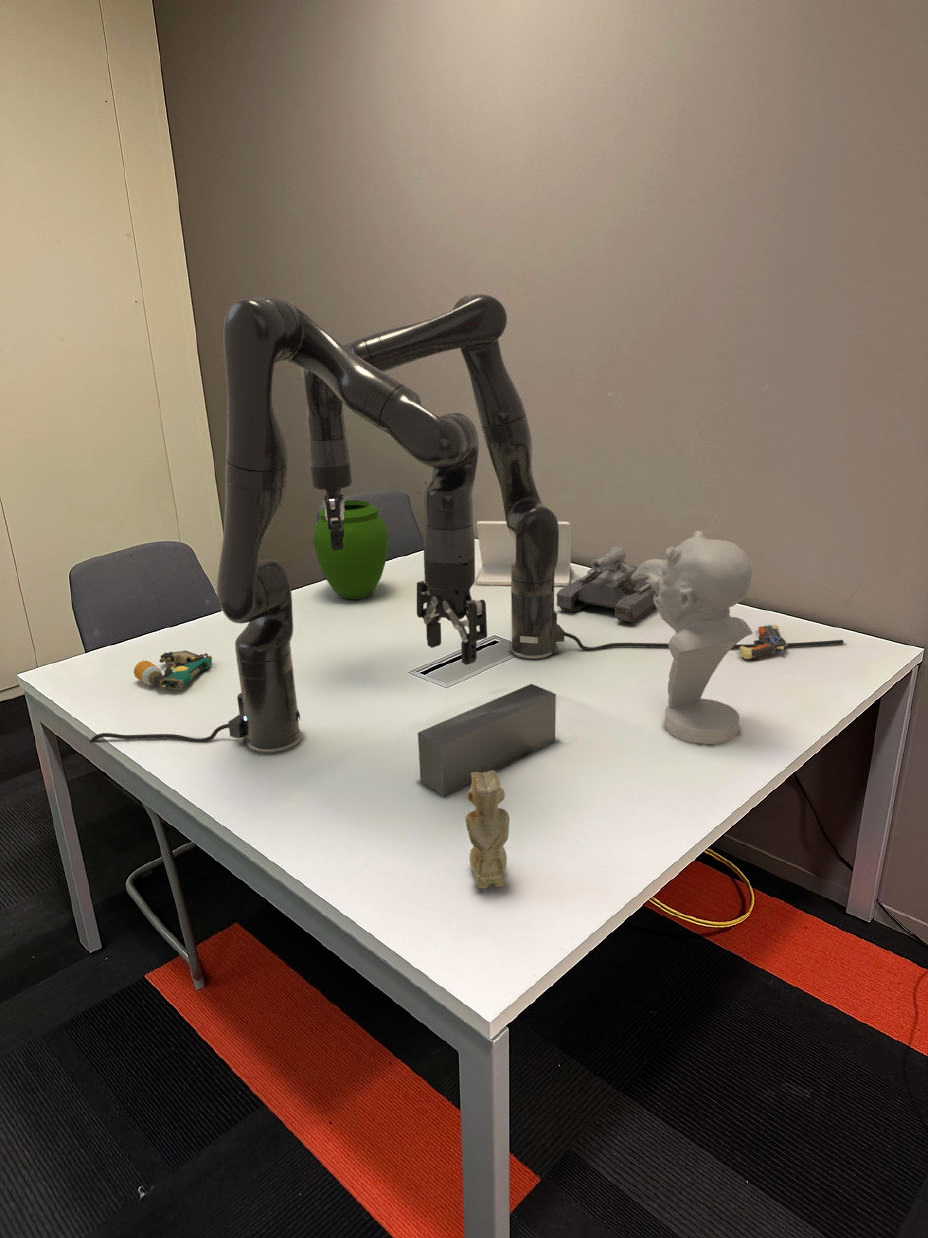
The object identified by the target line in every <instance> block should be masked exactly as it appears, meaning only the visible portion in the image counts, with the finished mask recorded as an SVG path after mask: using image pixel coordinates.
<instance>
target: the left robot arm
mask: <svg viewBox="0 0 928 1238" xmlns="http://www.w3.org/2000/svg"><path fill="white" fill-rule="evenodd" d="M223 321H224V322H223V329H222V331H223V333H222V335H223V337H222V338H223V339H222V340H223V353H224V354H223V355H224V366H225V379H226V396H227V397H226V398H227V399H226V401H227V403H226V404H227V406H226V407H227V408H226V409H227V411H226V416H227V417H226V450H225V451H226V452H225V476H224V477H225V479H224V480H225V481H224V483H225V485H224V486H225V499H224V500H225V501H224V503H225V504H224V520H223V535H222V543H221V551H220V559H219V565H218V573H217V583H216V590H217V591H216V594H217V600H218V604H219V607H220V609H221V611H222V613H223V614H224V616H225V617H226V618H227V619H228V620H229V621H230V622H232V623H234V624H246V623H248V624H247V625H246V626H245V628H244V629H243V630H242V632H241V633H240V634H239V635H238V636H237V638H236V639H235V643H234V649H235V657H236V663H237V671H238V678H239V686H240V692H239V693H238V694H237V697H236V698H237V699H236V700H237V705H238V715H236V716H234V717H233V718H232V719H230V720H229V721H228V722H227V723H225V724H222V725H220V726H218V727H216V728H214V730H213V732H212V733H211V734H210V735H209V736H207V737H201V738H194V737H189V736H185V735H181V734H175V733H174V734H173V733H150V734H147V733H146V734H145V733H144V734H119V733H111V732H101V733H98V734H95V735H94V736H93V737H92V738H91V739H90V740H89V741H88V742H89V743H94V742H96V741H97V740H99V739H101V738H114V739H121V740H138V739H139V740H140V739H142V740H143V739H176V740H182V741H186V742H189V743H191V742H192V743H207V742H209V741H212V740H213V739H215V737H216V736H217V734H218V733H219V732H221V731H222V730H225V729H228V731H229V736H230V737H231V738H236V739H240V740H241V739H242V743H243V744H244V745H247V747H248V748H249V749H250V750H251V751H254V752H256V753H263V754H272V753H273V754H275V753H280V752H284V751H287V750H290V749H291V748H294V747H295V746H297V744H298V743H300V741H301V738H302V733H301V730H300V722H301V714H300V711H299V709H298V702H297V693H296V692H297V691H296V684H295V683H296V682H295V674H294V666H293V656H292V645H291V642H292V639H293V636H294V635H293V634H294V617H293V598H292V589H291V588H292V587H291V584H290V583H291V582H290V579H289V577H288V574H287V572H286V570H285V569H284V568H283V566H282V565H281V564H280V563H279V562H278V561H276V560H275V559H272V558H267V557H264V558H260V553H261V549H262V545H263V542H264V539H265V538H266V536H267V533H268V531H269V529H270V527H271V525H272V524H273V521H274V520H275V518H276V516H277V514H278V512H279V510H280V508H281V506H282V503H283V500H284V497H285V493H286V486H287V472H288V471H287V470H288V450H287V445H286V441H285V437H284V435H283V433H282V430H281V428H280V425H279V423H278V421H277V418H276V415H275V412H274V407H273V396H272V395H273V378H274V377H273V376H274V370H275V369H274V368H275V363H281V362H284V361H286V362H289V363H290V364H294V365H296V366H299V367H300V368H301V367H303V368H305V369H307V370H309V371H311V372H312V373H314V374H315V375H317V376H318V377H320V378H321V379H322V380H323V381H324V382H325V383H326V384H327V385H328V386H329V387H330V388H331V389H332V390H333V391H334V393H335V394H336V395H337V396H338V397H339V399H340V400H341V401H342V402H343V405H345V406H346V407H347V408H348V409H349V410H350V411H352V412H353V413H354V414H356V415H357V416H358V417H360V418H362V419H363V420H365V421H367V422H368V423H370V424H371V425H372V426H375V427H376V428H377V429H380V430H381V431H382V432H384V433H386V434H388V435H389V436H390V437H391V438H393V440H394V441H395V442H396V443H397V444H398V445H399V446H400V447H401V448H402V449H403V450H404V451H406V453H408V454H409V455H410V456H411V457H412V458H414V459H415V460H416V461H418V462H419V463H420V464H421V465H424V466H426V467H428V468H431V469H432V477H431V480H430V483H429V484H428V485H427V486H426V488H425V491H424V495H423V496H424V497H423V511H424V512H423V515H424V517H423V518H424V529H423V530H424V532H423V568H424V569H423V570H424V572H423V573H424V580H420V581H417V582H416V616H417V617H418V618H420V619H421V618H422V619H423V623H424V624H425V625H426V628H425V629H426V642H427V646H428V647H429V648H432V649H433V648H436V647H439V646H440V645H441V644H442V623H441V622H440V621H441V620H442V619H443V618H445V619H446V620H447V621H450V622H451V624H452V626H453V629H455V630H457V631H458V634H459V636H460V638H461V640H462V641H461V642H460V646H461V649H460V651H461V652H460V653H461V663H462V664H463V665H465V666H468V665H471V664H473V663H475V662H476V661H477V657H478V652H477V651H478V648H477V644H478V643H477V642H478V641H481V640H485V639H487V638H488V625H487V624H488V623H487V622H488V621H487V603H486V601H485V600H484V599H478V600H475V599H473V598H472V596H471V588H472V586H473V585H474V584H475V582H476V549H475V548H476V545H475V544H476V543H475V542H476V541H475V540H476V539H475V532H474V522H473V521H474V516H473V513H474V512H473V509H474V507H473V506H474V505H473V489H474V484H475V480H476V474H477V467H478V461H479V460H478V459H479V453H480V451H479V450H480V447H479V445H480V443H479V435H478V431H477V429H476V426H475V424H474V422H473V421H472V420H471V419H470V418H469V417H468V416H466V415H465V414H463V413H459V412H449V413H446V414H443V415H436V414H435V413H433V412H432V411H430V410H429V409H427V408H426V407H425V406H424V405H422V401H421V398H420V397H419V395H418V394H417V393H416V392H415V391H414V390H412V389H411V388H410V387H408V386H407V385H405V384H403V383H401V382H400V381H398V380H397V379H395V378H393V377H392V376H390V375H389V374H387V373H386V372H384V373H383V372H382V371H380V370H379V369H377V368H375V367H374V366H372V365H370V364H369V363H367V362H366V361H364V360H363V359H361V358H360V357H358V356H357V355H355V354H354V353H353V352H351V351H350V350H348V349H347V348H346V347H344V346H343V345H344V344H342V343H341V342H339V341H338V340H337V339H336V338H335V337H333V336H332V335H331V334H330V333H328V332H327V331H326V330H324V329H323V328H322V326H320V325H318V323H316V322H315V321H314V320H313V319H312V318H311V317H310V316H309V315H307V314H306V313H305V312H304V311H303V310H302V309H301V308H299V307H298V306H297V305H296V304H294V303H293V302H291V301H290V300H289V299H287V298H285V297H282V296H278V295H263V296H262V295H261V296H252V297H245V298H241V299H238V300H236V301H235V302H233V303H232V304H231V305H230V306H229V309H228V310H227V312H226V314H225V317H224V320H223ZM425 604H426V607H424V605H425ZM464 617H466V619H464V620H462V619H463V618H464ZM466 627H467V628H468V632H467V629H466ZM477 627H478V628H477ZM299 721H300V722H299Z"/></svg>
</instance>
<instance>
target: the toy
mask: <svg viewBox="0 0 928 1238" xmlns="http://www.w3.org/2000/svg"><path fill="white" fill-rule="evenodd" d="M626 557H627V556H626V551H625V549H624V548H622V547H621V546H614V547H612V548H611V549H610V550H609V552H608V553H607V554H605V555H604V556H601V557H599V558H598V559H597V557H596V558H594V559H593V560H592V561H590V562H589V563H590V564H591V565H592V567H591V568H590V569H589V570H587V573H586V575H584V576H582V577H580V578H578V579H577V580H575V581H573V582H570V583H569V585H567V586H563V587H562V588H560V589H559V590H558V591H557V592H556V607H558V608H559V609H560V610H562V611H566V612H572V613H575V612H577V611H579V610H581V609H582V608H585V607H586V606H588V605H592V606H598V607H602V608H603V607H604V608H609V609H613V610H614V618H615V619H617V620H618V621H621V622H626V623H631V624H634V623H635V622H637V621H638V620H640V619H641V618H642V617H644V616H645V615H647V614H648V613H650V612H651V611H652V610H654V609H655V608H656V605H655V604H654V600H653V597H654V594H655V593H656V592H655V591H654V590H653V589H652V587H651V583H650V579H649V578H647V577H644V578H640V579H635V580H634V579H632V578H631V576H632V575H633V574H634V573H635V571H636V570H637V569H638V568H639V566H635V565H629V564H628V563H627V562H626V561H625V559H626Z"/></svg>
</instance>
